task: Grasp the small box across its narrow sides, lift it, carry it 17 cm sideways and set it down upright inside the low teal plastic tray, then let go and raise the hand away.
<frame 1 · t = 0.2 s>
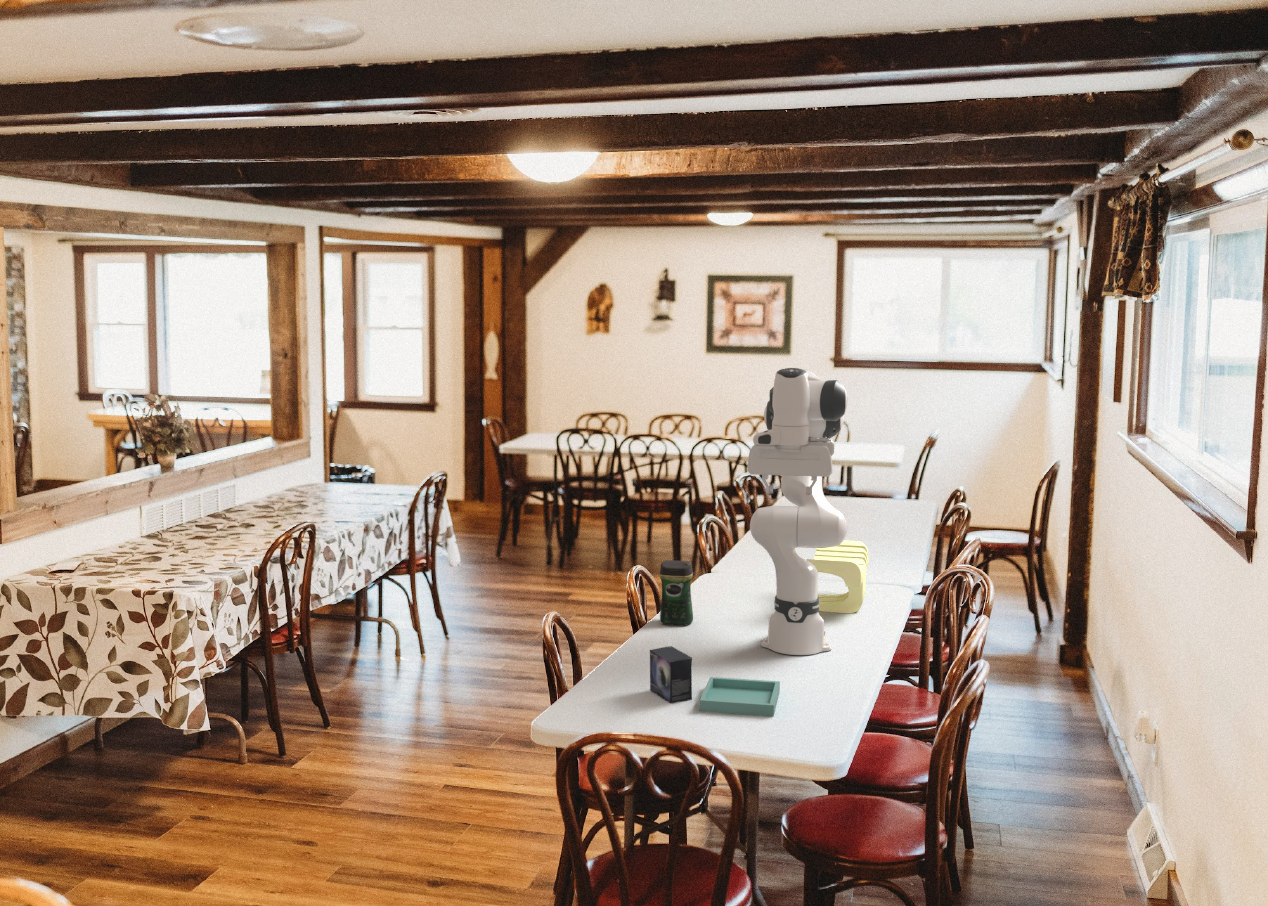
hand: (789, 493, 281), 48 cm above the table, tool pointing down, fingers open, 8 cm apart
teal tray: (740, 701, 276), on the table
slatted curved stool: (837, 607, 360), on the table
coffee jar: (676, 623, 342), on the table
small box: (670, 696, 280), on the table
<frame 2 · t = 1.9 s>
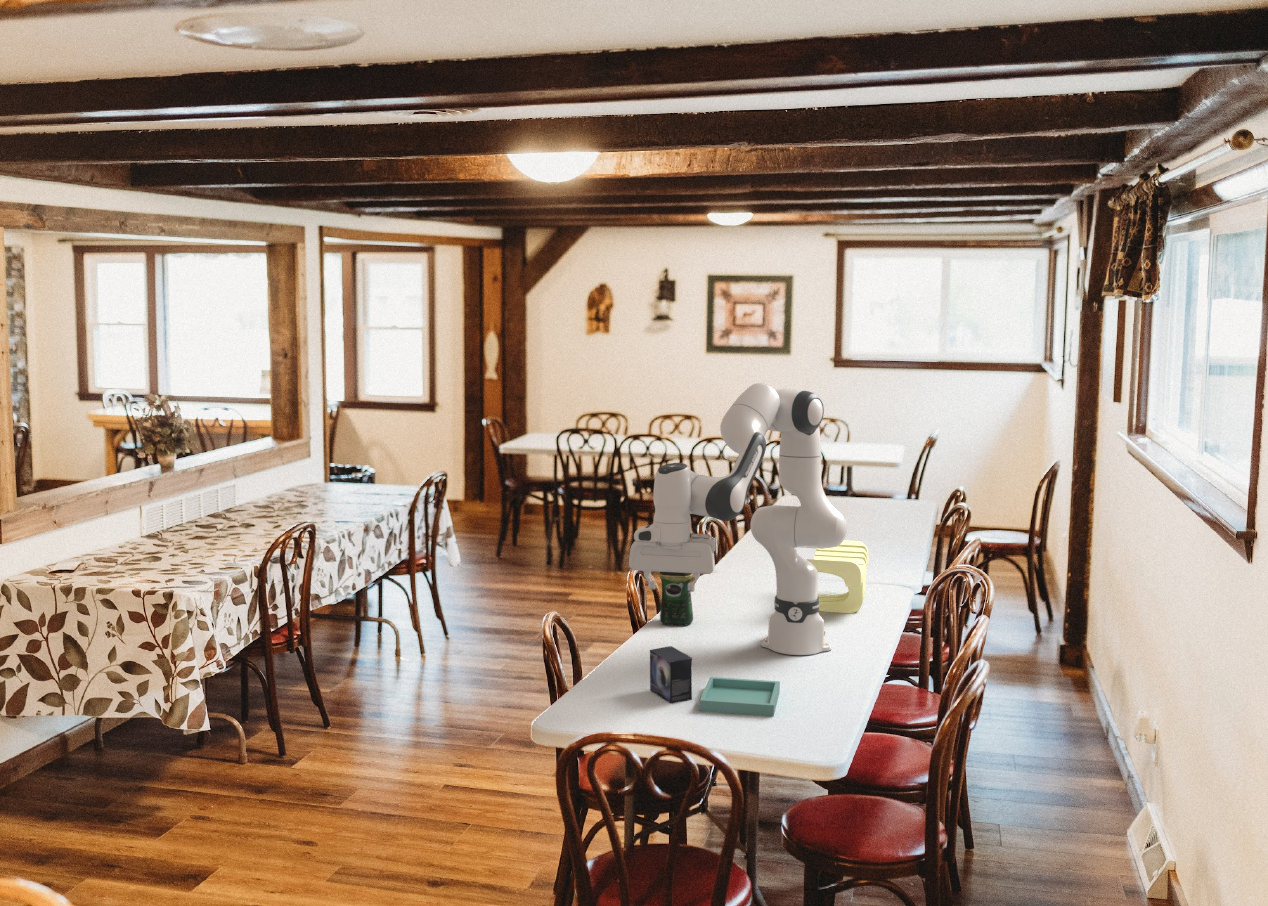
hand: (671, 590, 277), 26 cm above the table, tool pointing down, fingers open, 8 cm apart
nothing on the table moved.
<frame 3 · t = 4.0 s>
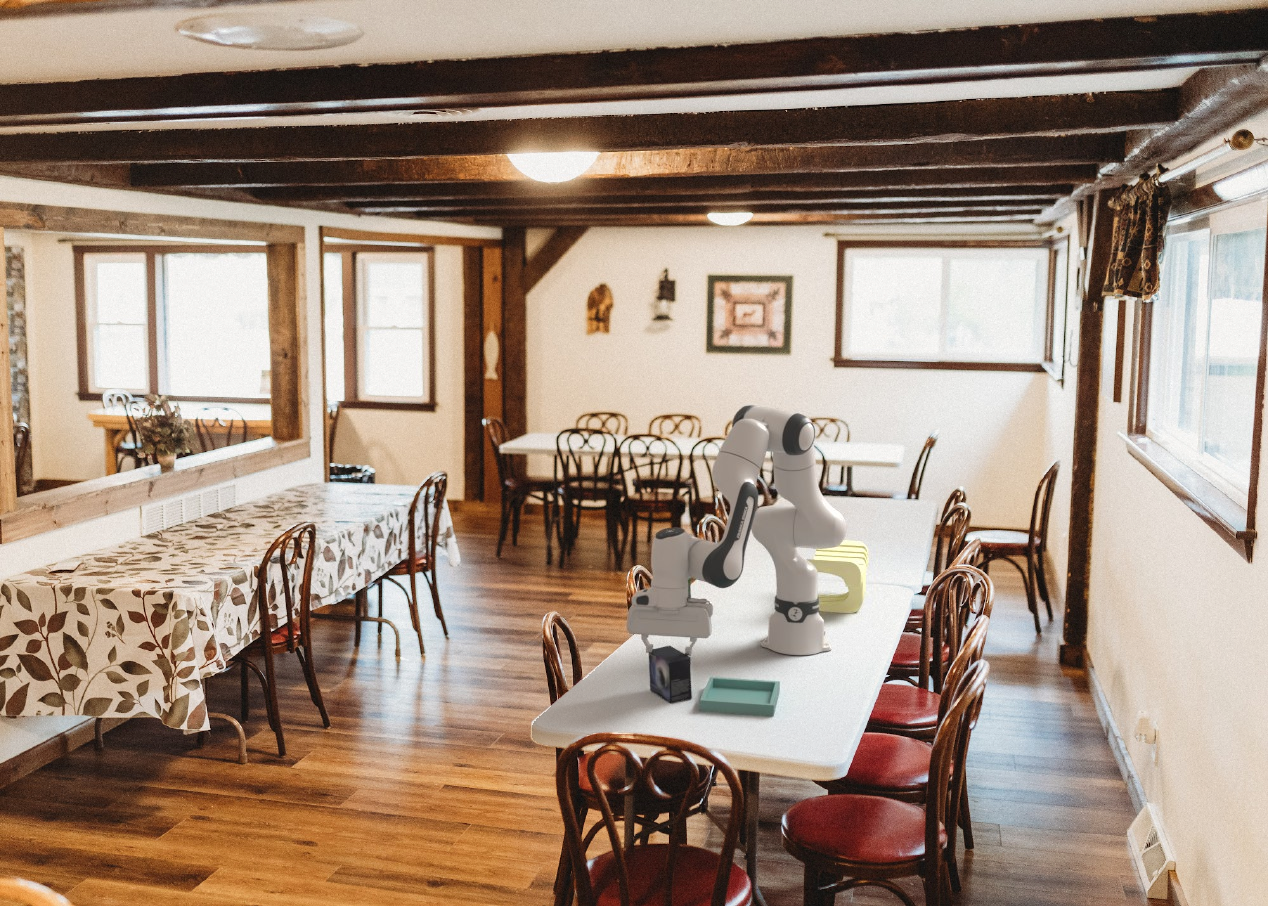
hand: (668, 653, 278), 10 cm above the table, tool pointing down
small box: (670, 695, 280), on the table, touching gripper
everything else where it was.
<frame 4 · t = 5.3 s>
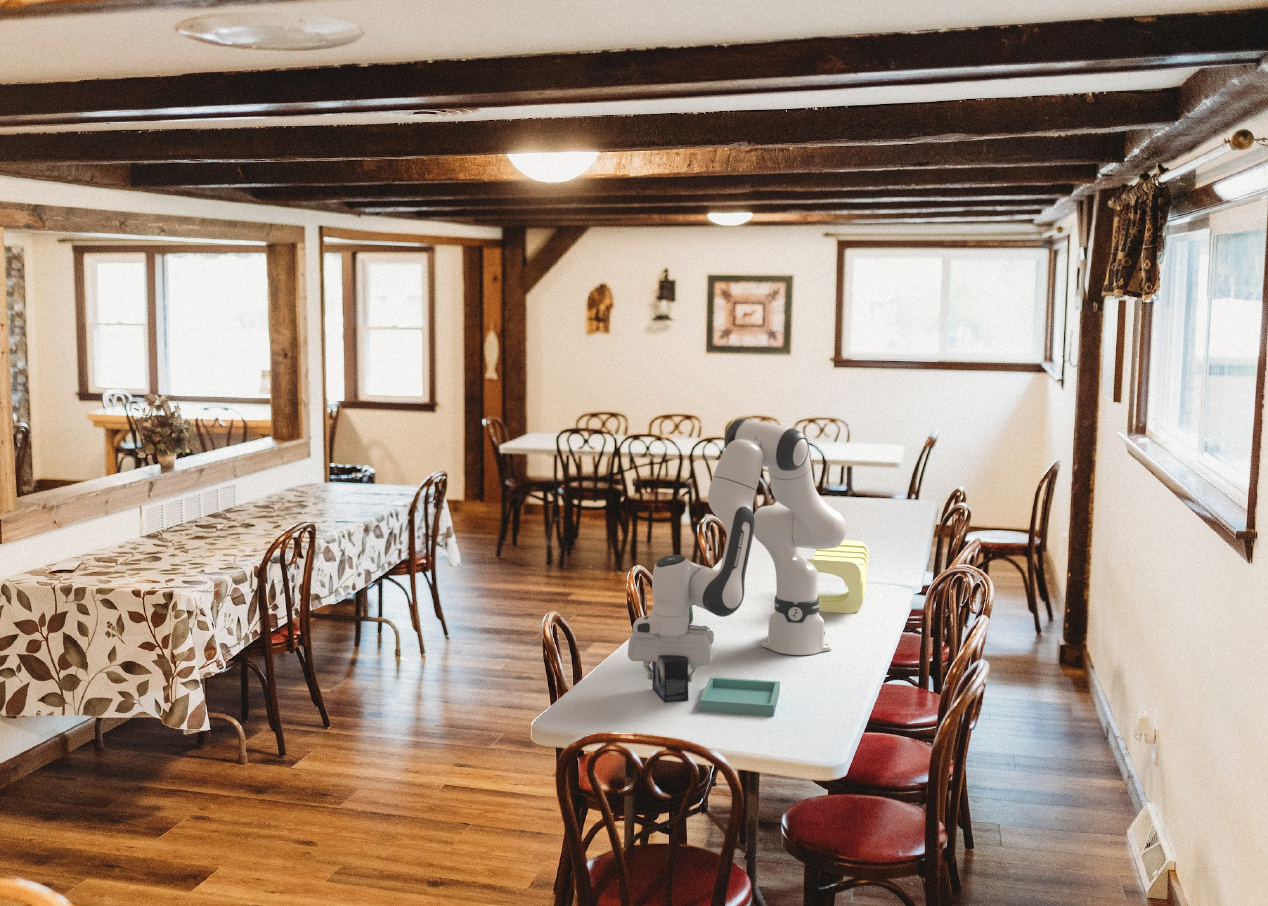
hand: (670, 680, 280), 4 cm above the table, tool pointing down, fingers closed on small box, 8 cm apart
small box: (669, 695, 280), on the table, touching gripper
everything else where it was.
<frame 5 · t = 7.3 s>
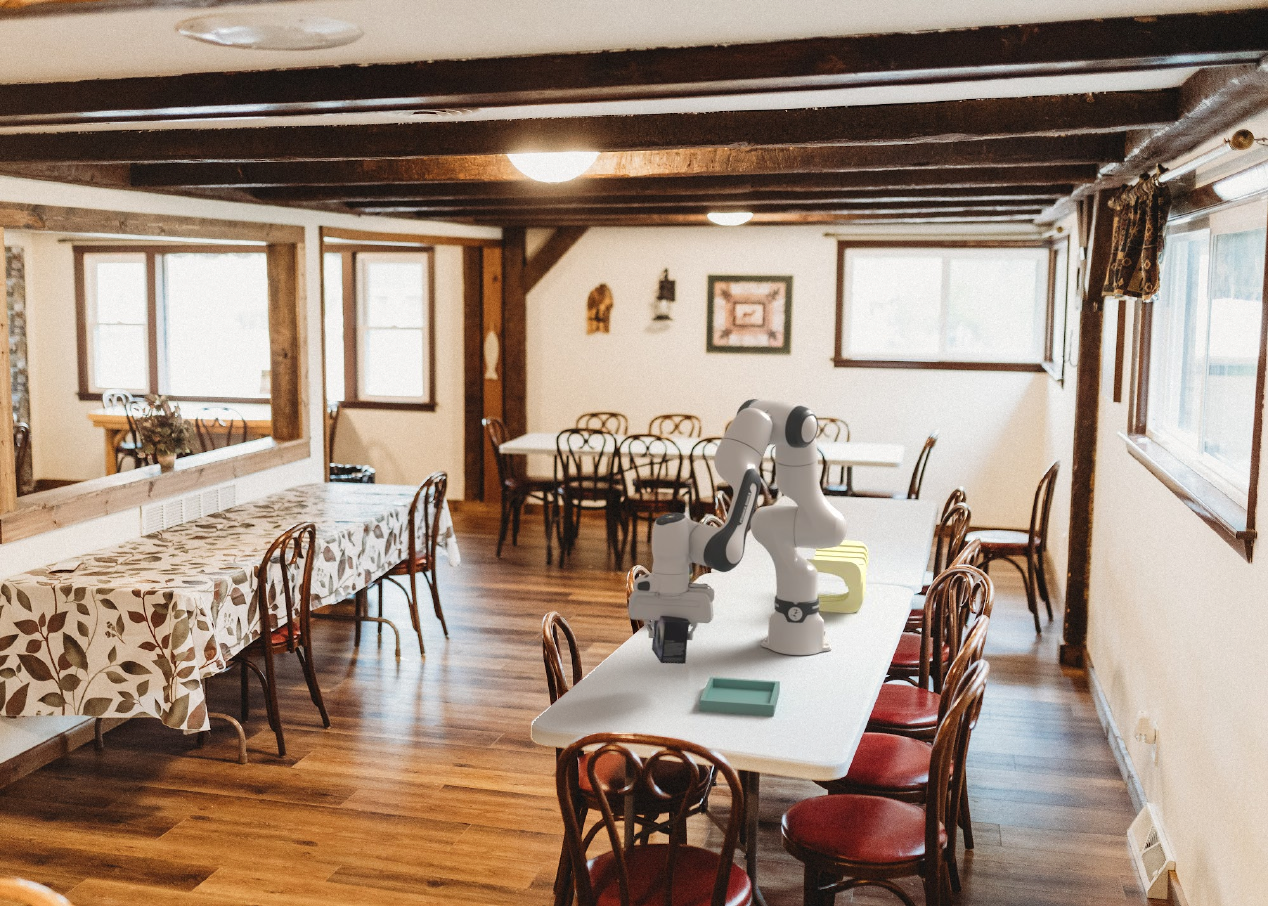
hand: (670, 638, 279), 14 cm above the table, tool pointing down, fingers closed on small box, 8 cm apart
small box: (667, 657, 279), point 9 cm above the table, touching gripper
everything else where it was.
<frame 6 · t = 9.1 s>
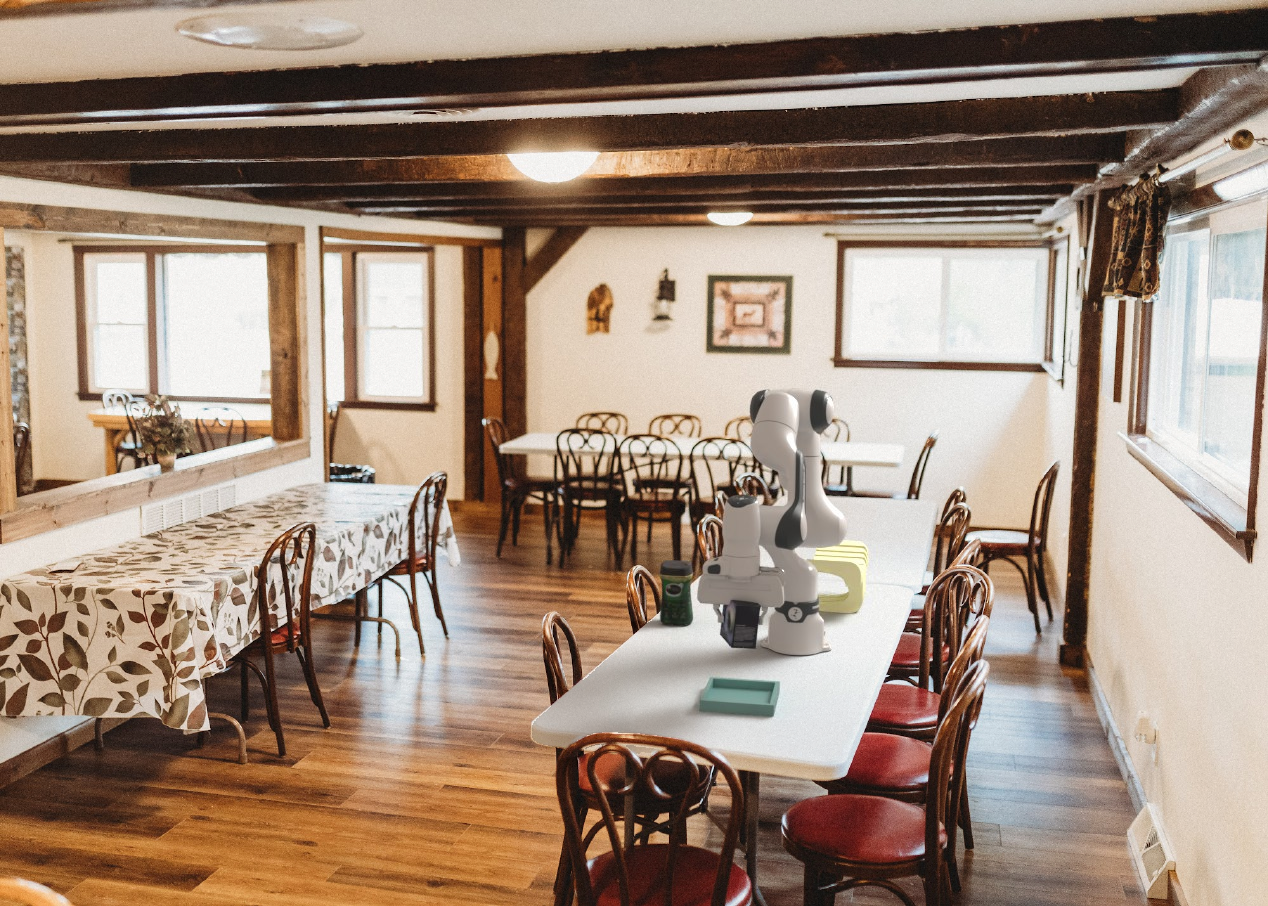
hand: (740, 623, 274), 19 cm above the table, tool pointing down, fingers closed on small box, 8 cm apart
small box: (736, 642, 274), point 14 cm above the table, touching gripper
everything else where it was.
when the fingers open (6 cm above the table, at t = 12.3 s): small box stays where it is, resting on teal tray.
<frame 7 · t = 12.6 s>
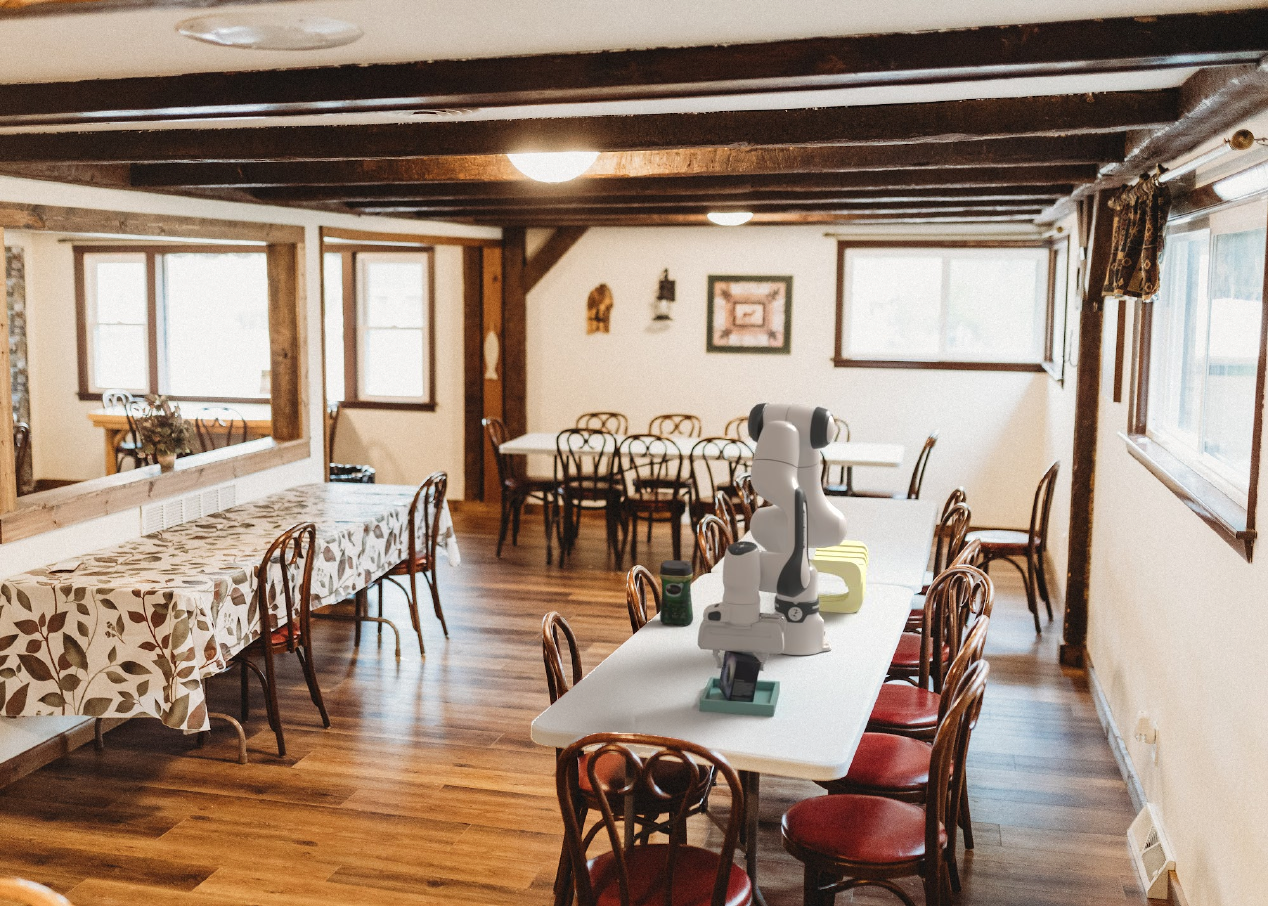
hand: (740, 668, 275), 8 cm above the table, tool pointing down, fingers open, 8 cm apart
small box: (734, 696, 276), point 1 cm above the table, touching teal tray
everything else where it was.
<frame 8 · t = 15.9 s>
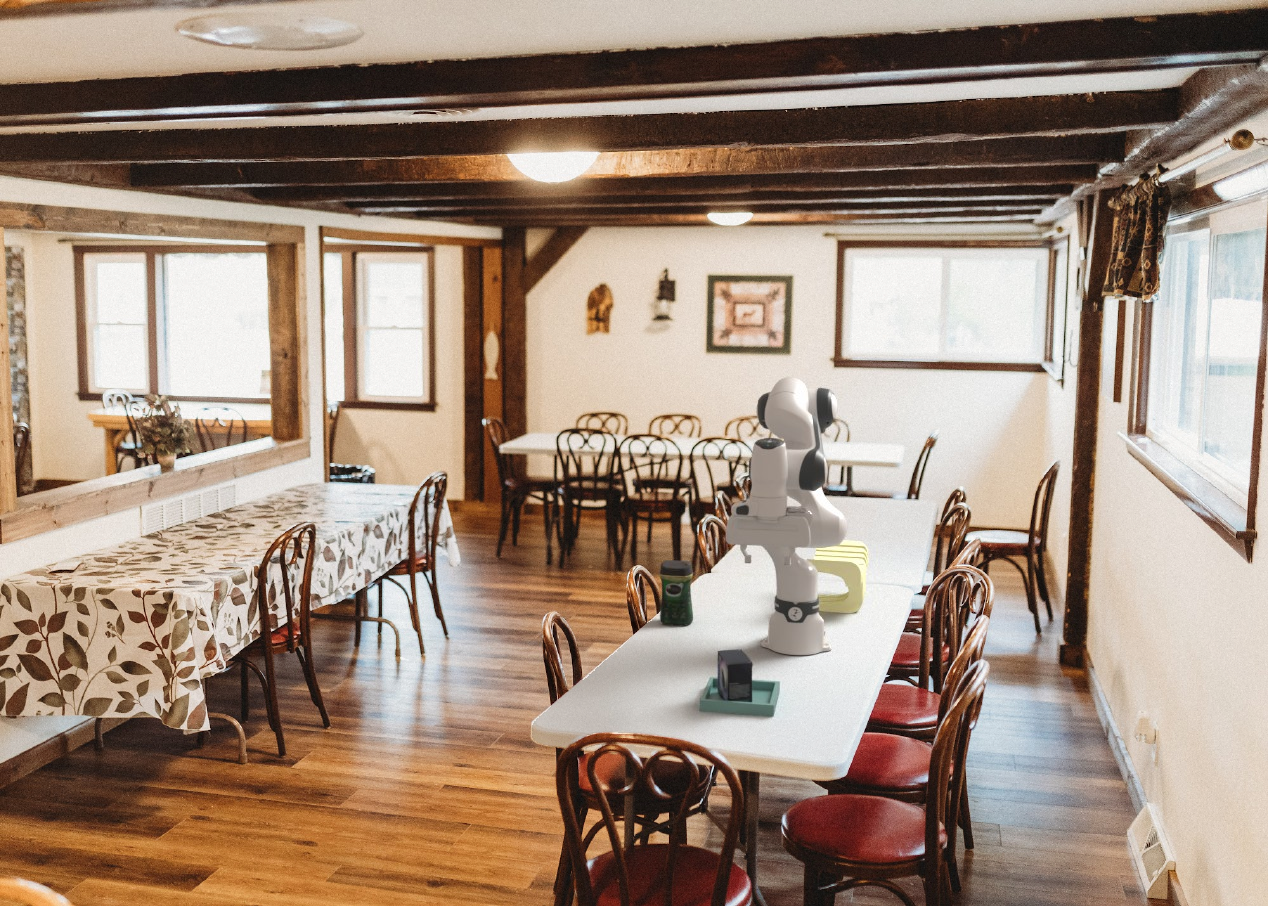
hand: (767, 563, 280), 31 cm above the table, tool pointing down, fingers open, 8 cm apart
at the end: small box inside the target area on the teal tray (1.5 cm from its centre), point 0.4 cm above the teal tray's base; small box tilted 0°; the gripper is holding nothing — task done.
